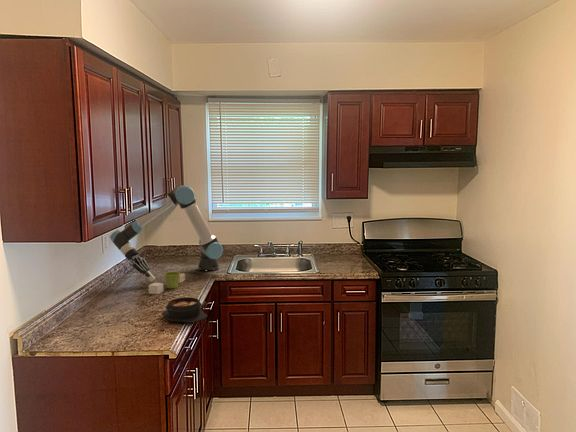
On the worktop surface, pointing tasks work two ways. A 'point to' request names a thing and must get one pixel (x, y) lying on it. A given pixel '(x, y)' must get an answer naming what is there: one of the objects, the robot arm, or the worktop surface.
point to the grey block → (156, 288)
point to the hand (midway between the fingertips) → (153, 279)
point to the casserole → (184, 310)
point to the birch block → (181, 277)
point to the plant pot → (172, 279)
